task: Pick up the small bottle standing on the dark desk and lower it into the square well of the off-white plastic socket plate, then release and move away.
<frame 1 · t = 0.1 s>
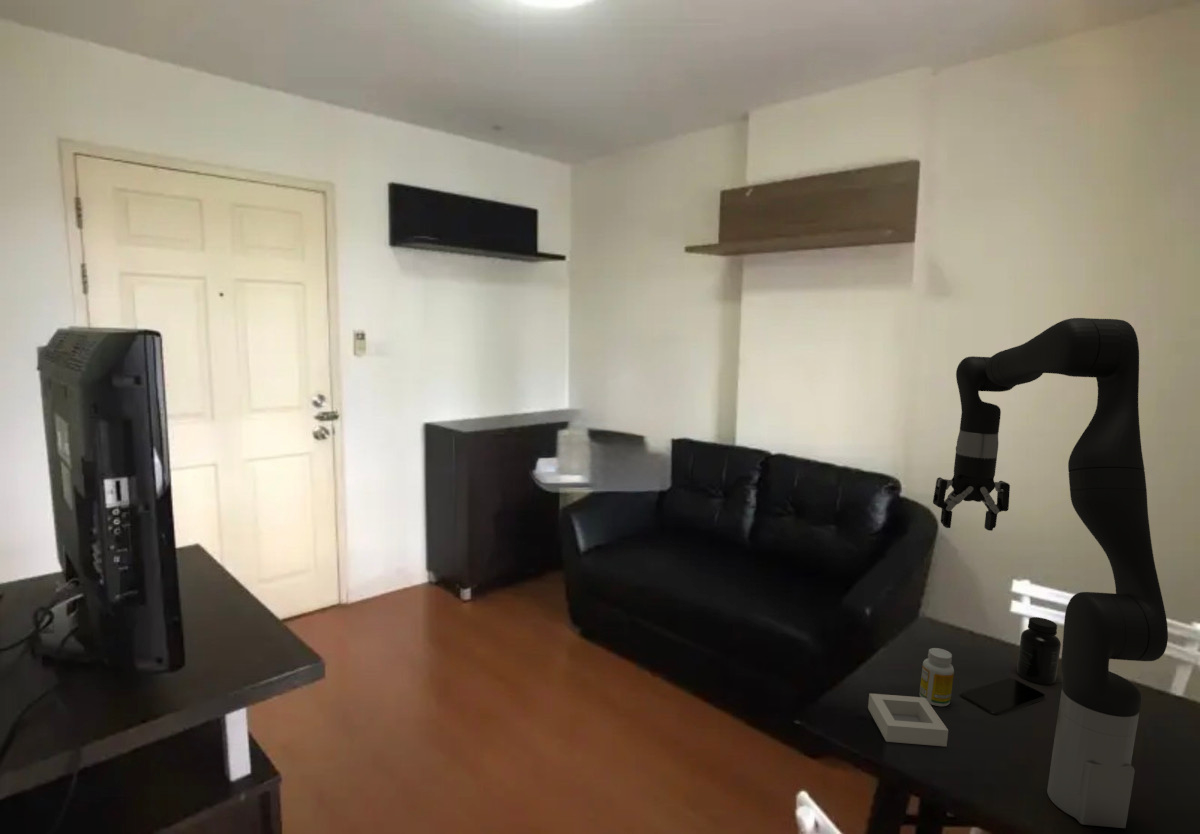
hand: (967, 528, 141), 29 cm above the table, tool pointing down, fingers open, 8 cm apart
smartphone: (1002, 699, 130), on the table
supplement bottle: (1035, 677, 138), on the table
socket plate: (905, 726, 119), on the table
supplement bottle 2: (934, 700, 128), on the table
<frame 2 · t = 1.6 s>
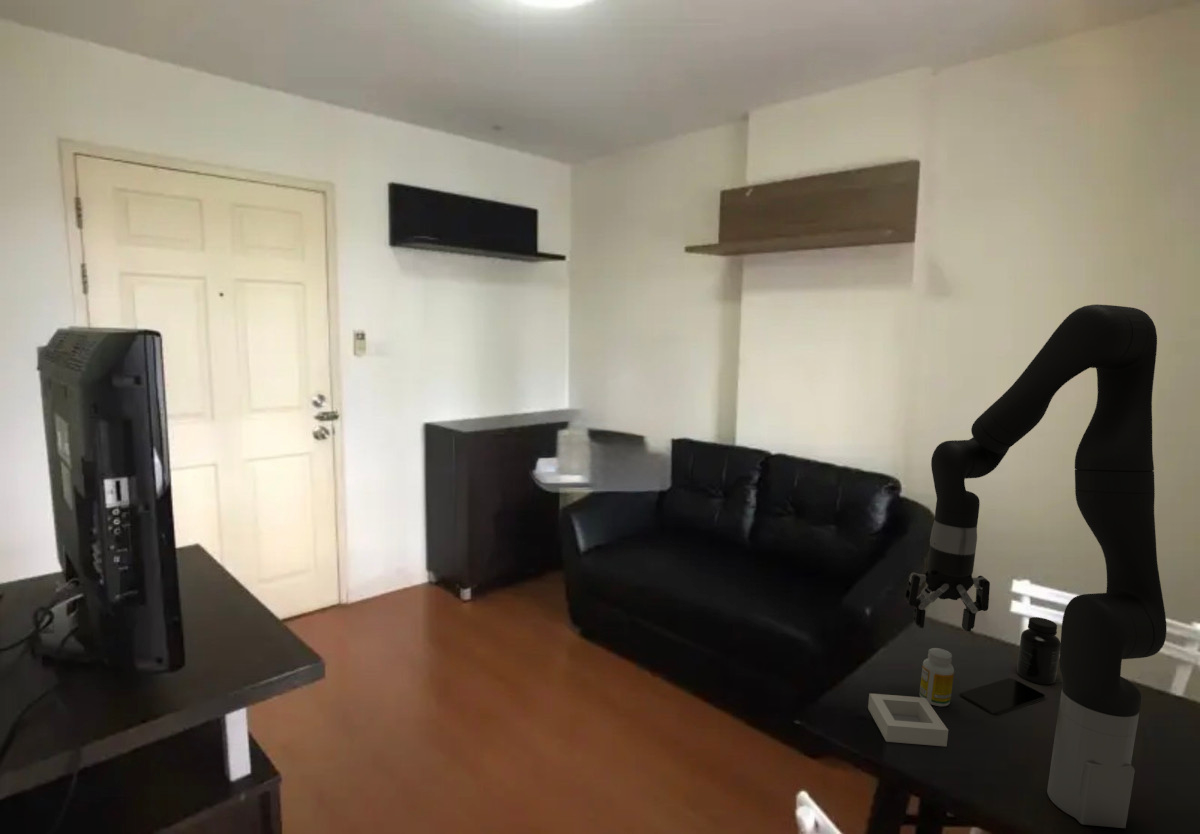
hand: (942, 627, 126), 15 cm above the table, tool pointing down, fingers open, 8 cm apart
nothing on the table moved.
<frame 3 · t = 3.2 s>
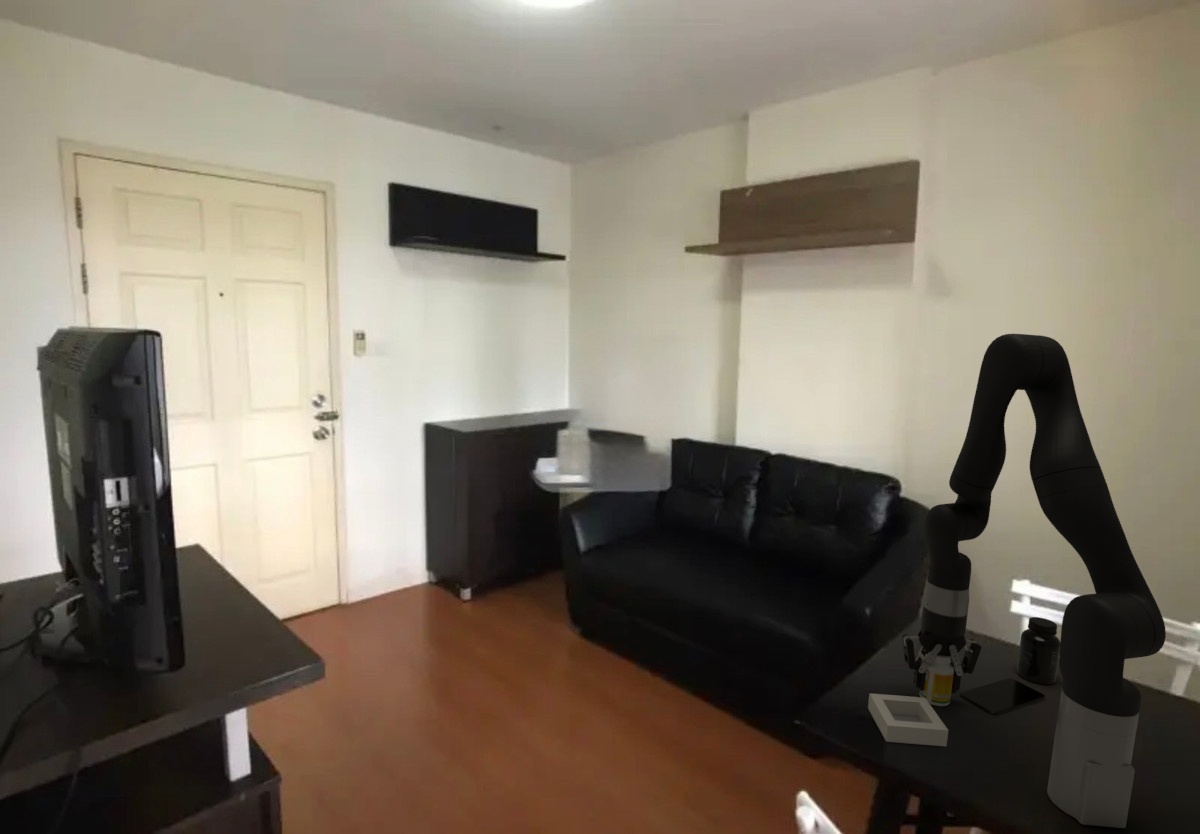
hand: (935, 689, 128), 2 cm above the table, tool pointing down, fingers closed on supplement bottle 2, 5 cm apart
supplement bottle 2: (934, 700, 128), on the table, touching gripper
everything else where it was.
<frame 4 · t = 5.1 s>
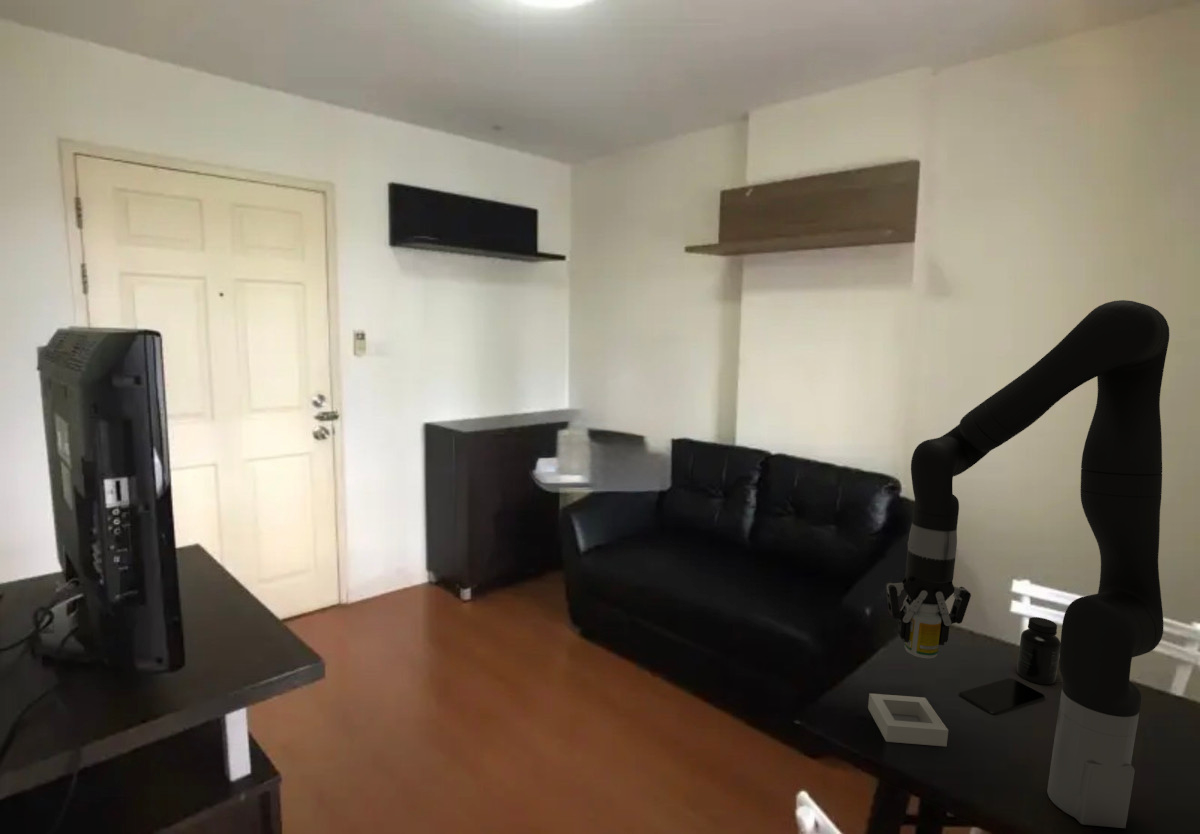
hand: (922, 641, 119), 15 cm above the table, tool pointing down, fingers closed on supplement bottle 2, 5 cm apart
supplement bottle 2: (920, 653, 119), point 13 cm above the table, touching gripper
everything else where it was.
when the fingers open (4 cm above the table, at t = 7.4 s): supplement bottle 2 drops 1 cm, resting on socket plate.
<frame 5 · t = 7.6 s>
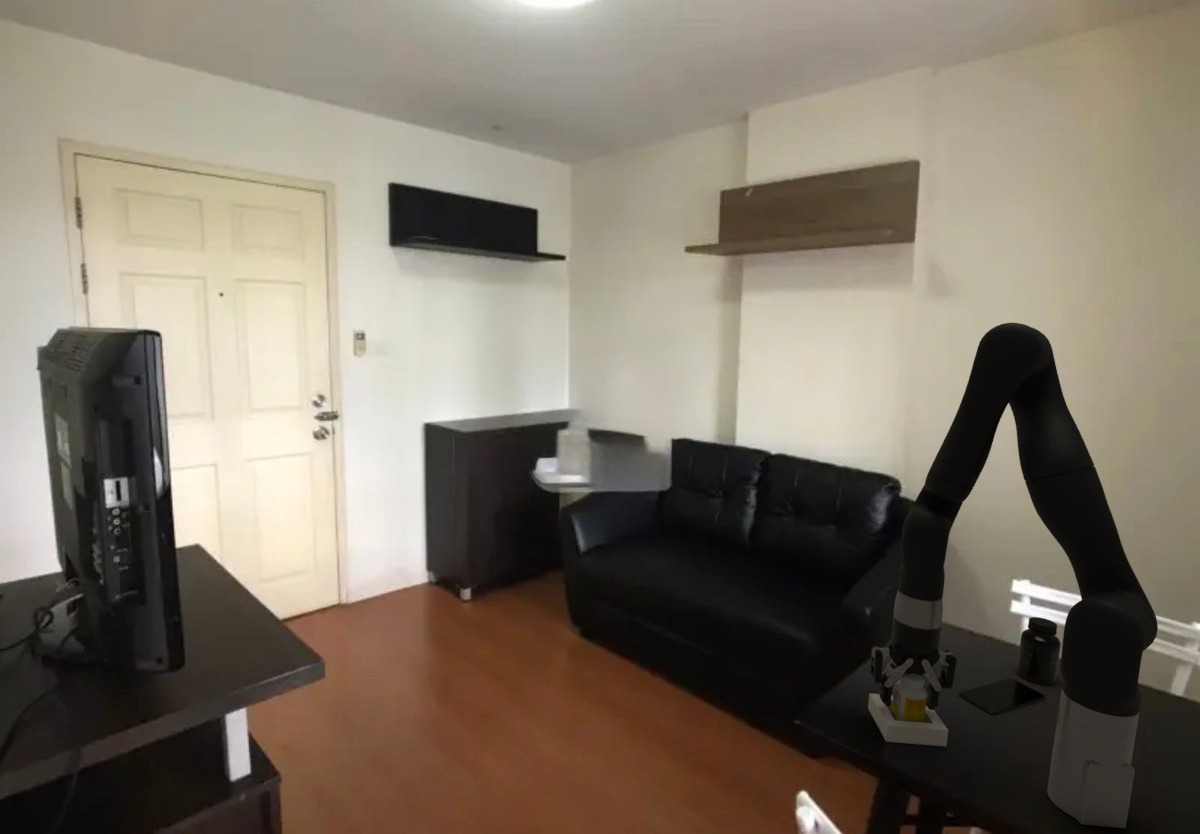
hand: (907, 705, 118), 4 cm above the table, tool pointing down, fingers open, 7 cm apart
supplement bottle 2: (906, 726, 119), resting on socket plate
everything else where it was.
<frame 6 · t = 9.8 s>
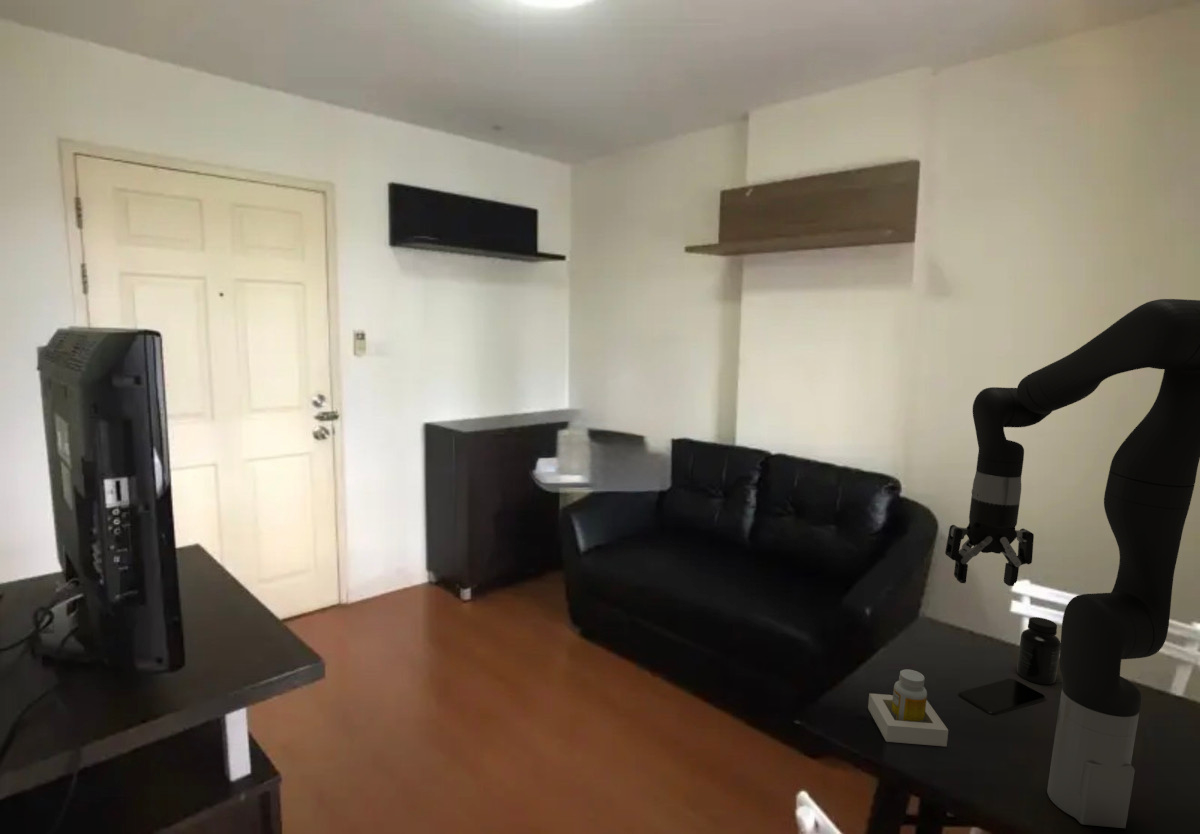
hand: (984, 583, 123), 25 cm above the table, tool pointing down, fingers open, 8 cm apart
nothing on the table moved.
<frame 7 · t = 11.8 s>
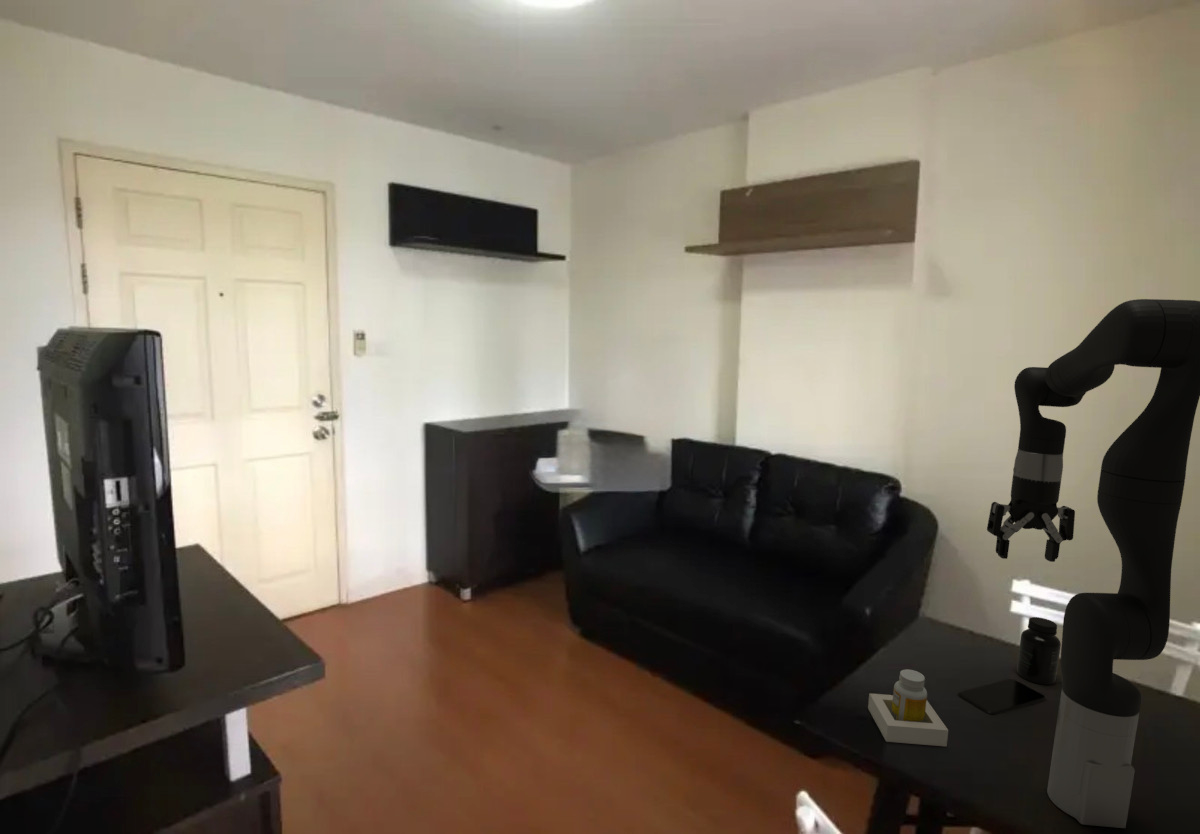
hand: (1026, 558, 126), 28 cm above the table, tool pointing down, fingers open, 8 cm apart
nothing on the table moved.
at the end: supplement bottle 2 0.2 cm off-centre on the socket plate, point 0.1 cm above the socket plate's base; supplement bottle 2 tilted 0°; the gripper is holding nothing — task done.
